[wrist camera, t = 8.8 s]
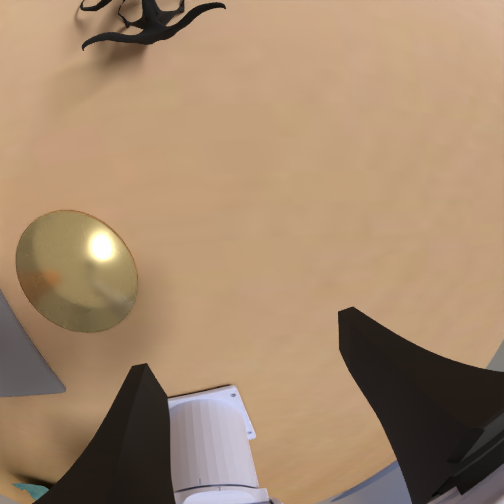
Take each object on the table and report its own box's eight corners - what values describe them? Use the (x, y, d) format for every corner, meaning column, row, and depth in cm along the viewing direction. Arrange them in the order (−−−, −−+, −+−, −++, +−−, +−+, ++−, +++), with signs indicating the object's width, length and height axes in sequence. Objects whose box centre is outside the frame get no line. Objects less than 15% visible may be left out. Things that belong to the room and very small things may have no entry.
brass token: (157, 315, 20) (157, 318, 20) (54, 338, 20) (53, 341, 19) (108, 190, 16) (107, 191, 16) (-1, 234, 16) (-3, 235, 15)
